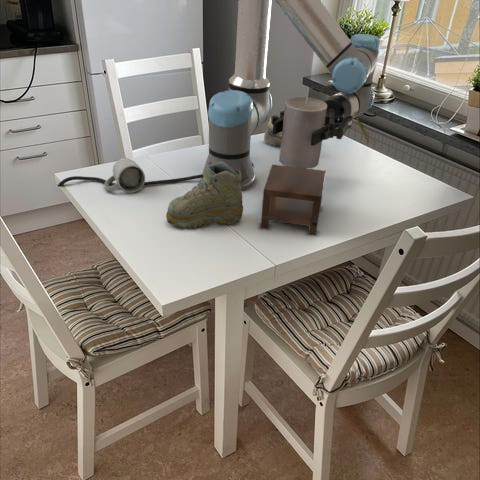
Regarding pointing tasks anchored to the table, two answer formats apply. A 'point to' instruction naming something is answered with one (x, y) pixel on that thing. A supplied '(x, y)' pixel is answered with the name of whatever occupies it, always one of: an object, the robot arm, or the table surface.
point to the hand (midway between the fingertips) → (293, 133)
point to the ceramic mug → (126, 176)
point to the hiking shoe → (269, 135)
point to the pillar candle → (301, 132)
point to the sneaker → (209, 199)
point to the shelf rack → (293, 196)
